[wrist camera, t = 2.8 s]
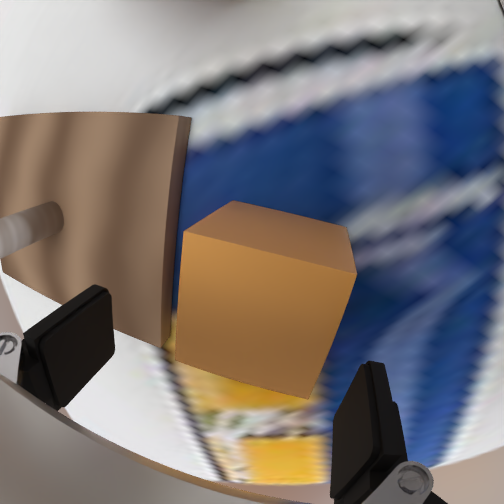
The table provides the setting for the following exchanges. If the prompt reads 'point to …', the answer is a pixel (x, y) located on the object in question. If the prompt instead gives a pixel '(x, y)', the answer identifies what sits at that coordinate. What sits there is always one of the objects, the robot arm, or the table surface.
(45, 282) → the post board
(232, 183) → the table surface
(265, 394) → the table surface
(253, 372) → the tan wooden cube
